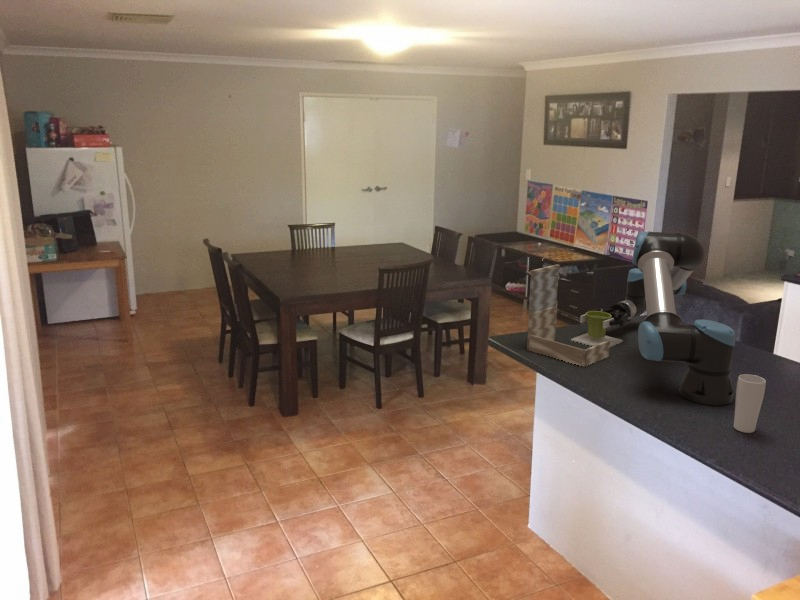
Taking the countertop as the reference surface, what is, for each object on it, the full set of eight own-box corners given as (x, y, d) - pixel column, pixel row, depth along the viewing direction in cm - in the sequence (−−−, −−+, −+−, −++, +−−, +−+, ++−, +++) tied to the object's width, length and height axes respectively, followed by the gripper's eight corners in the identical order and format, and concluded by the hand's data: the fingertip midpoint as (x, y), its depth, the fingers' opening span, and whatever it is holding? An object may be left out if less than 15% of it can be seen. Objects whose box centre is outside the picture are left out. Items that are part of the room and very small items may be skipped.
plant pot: (606, 332, 257) (608, 311, 254) (611, 340, 248) (613, 318, 245) (582, 331, 258) (584, 310, 255) (586, 339, 249) (588, 317, 246)
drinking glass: (749, 423, 184) (757, 373, 180) (763, 435, 177) (771, 383, 174) (725, 424, 184) (733, 373, 180) (738, 435, 177) (746, 383, 173)
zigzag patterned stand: (551, 340, 254) (557, 264, 246) (608, 356, 237) (616, 275, 229) (525, 349, 243) (530, 270, 235) (584, 367, 226) (591, 282, 218)
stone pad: (590, 333, 263) (590, 331, 262) (622, 342, 253) (622, 340, 252) (570, 340, 253) (570, 339, 253) (603, 350, 243) (603, 348, 243)
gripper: (647, 326, 256) (617, 338, 241) (597, 314, 271) (566, 325, 256) (649, 307, 254) (619, 318, 239) (598, 296, 269) (568, 306, 254)
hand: (592, 322), depth 248 cm, fingers closed on plant pot, 9 cm apart
